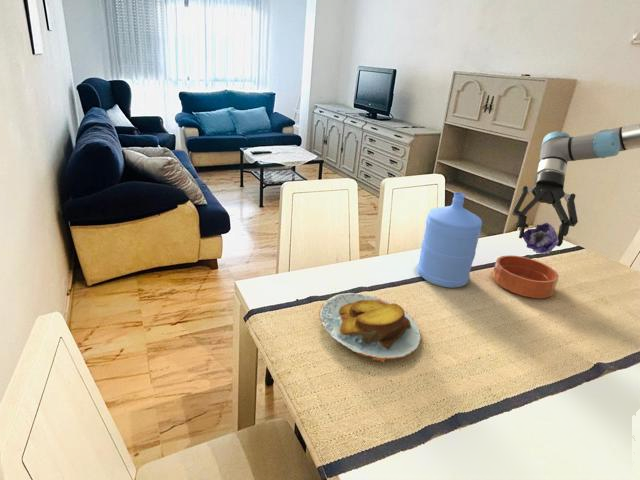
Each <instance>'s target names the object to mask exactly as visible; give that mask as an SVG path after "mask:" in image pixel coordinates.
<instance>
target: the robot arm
mask: <svg viewBox="0 0 640 480" xmlns="http://www.w3.org/2000/svg"><path fill="white" fill-rule="evenodd" d="M637 149H640V122H637V123H633V124H628V125H623V126H619V127H614V128H609V129H602V130H599V131H596V132H593V133H589V134H584V135H577V136H570V134H569V133H567V132H564V131H560V132H559V131H552V132H549V133H547V134H546V135H545V136H544V137H543V139H542V143H541V146H540V152H539V159H538V164H537V170H536V176H535V180H534V186H533V187H528V186H527V185H524V186H523V187H522V189H521V195H520V197H519V199H518V201H517V202H516V205H515V206H514V208H513V211H512V213H511V214H512V215H513V216H516V217H517V223H516V226H517V227H518V228H520V229H519V235H518V239H521V240H522V239H523V235H524V232H525V231H526V230H525V229H526V225H527V218H528V215H527V214H528V213H529V212H530V211H531V210H532V209H533V208H534V207H535V206H536V205H537V204H538V203H540V204H548V205H551V206H552V207H553V208H554V210H555V213H556V214H557V216H558V218H559V220H560V222H561V224H560V225H559V228H558V233H557V237H558V239H559V243H558V244H557V245H556V247H561V246H562V244H563V242H564V237H567V236H568V234H569V230H570V227H575V226H576V225H577V224H578V222H579V220H578V215H577V209H576V203H575V199H576V197H577V196H576V194H575V193H571V194H570V193H566V192H565V190H564V187H565V180H566V174H567V167H568V162H575V161H584V160H585V161H586V160H593V159H594V160H595V159H605V158H610V157H616V156H618V155H619V153H620V152H623V151H630V150H637ZM530 193H531V194H532V195H533V196H534V198H533V199H532V200H530V202H528V204H527V205H526V206H525V207H523V209H522V210H521V211H520V209H521V207H522V205H523V203H524V201H525V200H526V198H527V196H529V195H530ZM563 198H564V201H565V202H566V208H567V212H566V210H565V208H564V206H563V204H562V201H561V199H563ZM567 213H568V215H567Z"/></svg>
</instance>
